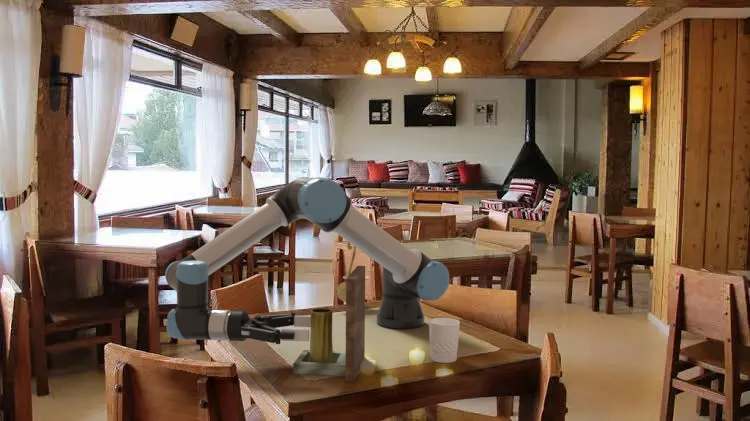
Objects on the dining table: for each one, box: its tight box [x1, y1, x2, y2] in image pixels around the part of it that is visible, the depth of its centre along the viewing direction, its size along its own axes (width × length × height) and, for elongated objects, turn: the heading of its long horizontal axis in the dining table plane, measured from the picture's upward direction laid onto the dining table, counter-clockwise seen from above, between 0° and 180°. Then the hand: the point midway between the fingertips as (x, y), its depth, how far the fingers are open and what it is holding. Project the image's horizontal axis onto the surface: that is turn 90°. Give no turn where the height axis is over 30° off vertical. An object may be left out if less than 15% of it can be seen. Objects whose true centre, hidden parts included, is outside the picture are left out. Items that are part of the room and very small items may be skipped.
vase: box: [309, 307, 334, 363], centre depth 160 cm, size 6×6×14 cm
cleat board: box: [292, 265, 366, 383], centre depth 159 cm, size 15×20×24 cm
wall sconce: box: [336, 241, 370, 303], centre depth 227 cm, size 14×10×25 cm
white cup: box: [428, 317, 461, 364], centre depth 167 cm, size 8×8×10 cm
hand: (314, 328), depth 159 cm, fingers open, 13 cm apart
